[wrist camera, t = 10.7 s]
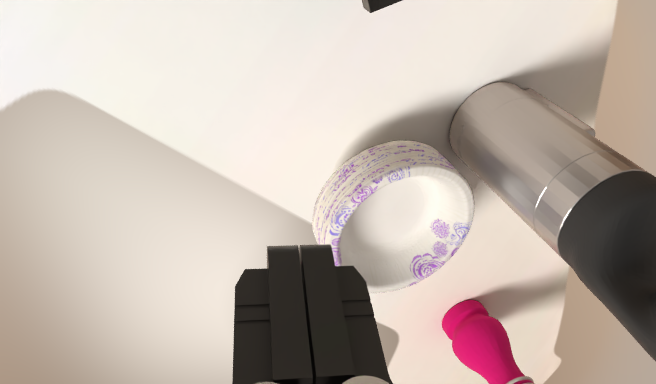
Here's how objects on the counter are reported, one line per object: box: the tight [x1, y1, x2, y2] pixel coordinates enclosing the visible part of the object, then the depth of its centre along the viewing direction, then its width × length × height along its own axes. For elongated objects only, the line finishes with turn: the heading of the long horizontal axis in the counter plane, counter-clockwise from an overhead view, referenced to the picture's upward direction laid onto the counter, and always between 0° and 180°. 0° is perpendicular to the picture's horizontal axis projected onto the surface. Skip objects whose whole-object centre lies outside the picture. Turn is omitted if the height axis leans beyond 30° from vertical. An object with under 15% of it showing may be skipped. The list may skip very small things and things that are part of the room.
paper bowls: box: [312, 140, 474, 293], centre depth 53 cm, size 15×15×8 cm
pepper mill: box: [442, 300, 534, 384], centre depth 66 cm, size 7×7×20 cm
